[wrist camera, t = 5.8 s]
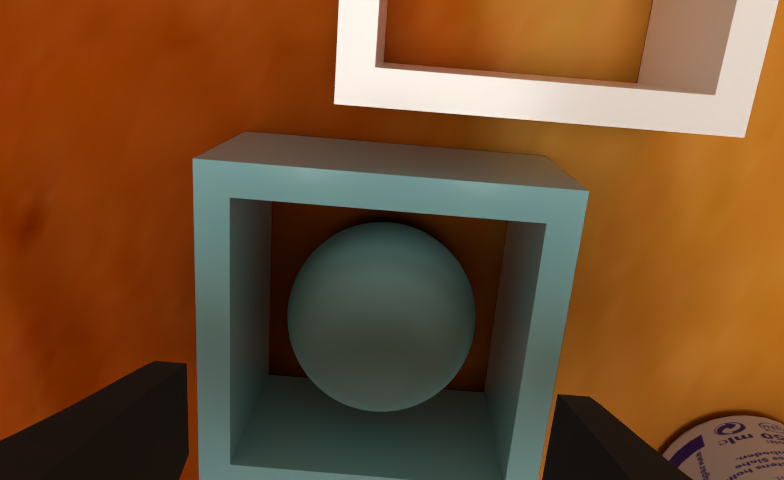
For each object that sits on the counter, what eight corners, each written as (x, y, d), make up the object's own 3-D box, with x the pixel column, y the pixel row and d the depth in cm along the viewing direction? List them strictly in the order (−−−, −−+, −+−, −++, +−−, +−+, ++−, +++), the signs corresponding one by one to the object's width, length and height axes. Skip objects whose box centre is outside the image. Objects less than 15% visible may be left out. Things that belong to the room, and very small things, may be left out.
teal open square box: (505, 415, 20) (531, 515, 16) (244, 394, 20) (199, 488, 16) (545, 156, 18) (589, 190, 13) (245, 131, 18) (192, 158, 13)
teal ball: (456, 360, 20) (474, 460, 15) (300, 348, 20) (267, 445, 15) (474, 208, 18) (501, 266, 13) (305, 195, 18) (272, 248, 13)
